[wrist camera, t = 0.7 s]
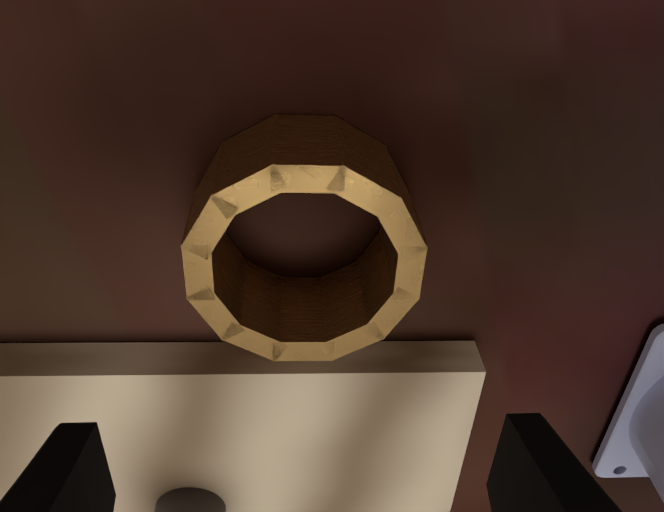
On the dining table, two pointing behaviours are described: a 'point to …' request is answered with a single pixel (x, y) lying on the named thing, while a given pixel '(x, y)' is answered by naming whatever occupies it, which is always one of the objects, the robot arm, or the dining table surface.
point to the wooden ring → (302, 292)
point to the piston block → (251, 422)
